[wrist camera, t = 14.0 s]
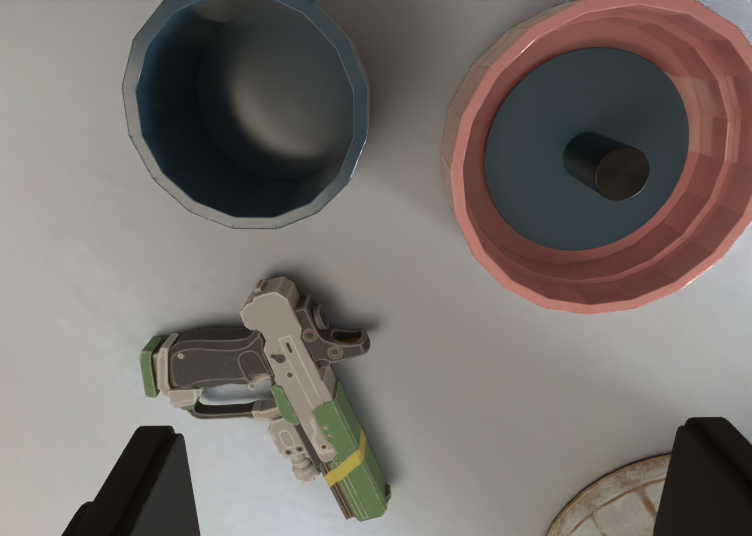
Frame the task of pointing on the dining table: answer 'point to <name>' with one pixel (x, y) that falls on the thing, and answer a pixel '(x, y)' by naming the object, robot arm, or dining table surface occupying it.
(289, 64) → the tin
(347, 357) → the futuristic handgun
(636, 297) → the bowl
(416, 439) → the dining table surface
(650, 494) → the milk can
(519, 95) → the lid
